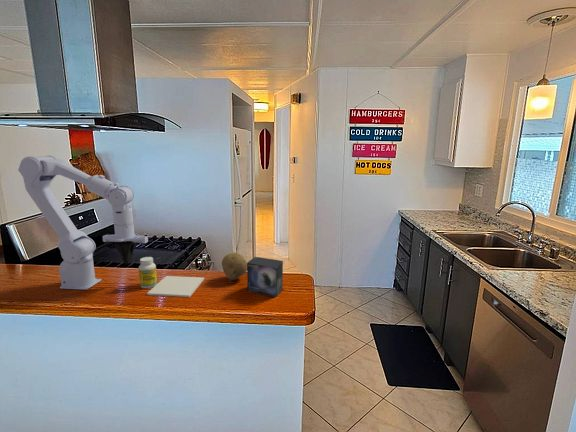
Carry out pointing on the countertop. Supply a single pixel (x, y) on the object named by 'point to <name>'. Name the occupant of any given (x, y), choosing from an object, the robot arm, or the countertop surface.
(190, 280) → the mat
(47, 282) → the countertop surface
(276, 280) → the small box
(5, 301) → the countertop surface
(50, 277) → the countertop surface
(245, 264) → the natural sponge
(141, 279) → the supplement bottle
